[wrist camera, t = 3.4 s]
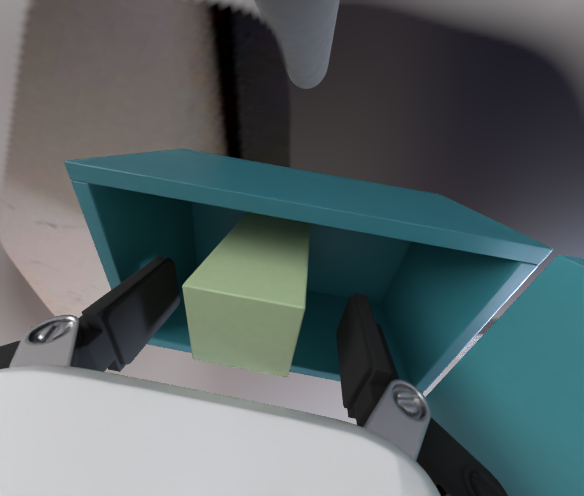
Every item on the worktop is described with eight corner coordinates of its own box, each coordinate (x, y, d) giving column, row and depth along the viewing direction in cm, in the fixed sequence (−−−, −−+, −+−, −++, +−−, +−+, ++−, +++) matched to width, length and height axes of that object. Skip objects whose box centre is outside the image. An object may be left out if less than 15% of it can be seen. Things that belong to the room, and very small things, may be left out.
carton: (248, 256, 17) (192, 360, 9) (251, 206, 15) (181, 285, 7) (300, 266, 17) (287, 378, 9) (310, 217, 15) (305, 308, 7)
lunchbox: (194, 269, 19) (130, 341, 13) (182, 148, 14) (62, 160, 7) (383, 304, 19) (420, 397, 12) (439, 194, 14) (555, 248, 7)
